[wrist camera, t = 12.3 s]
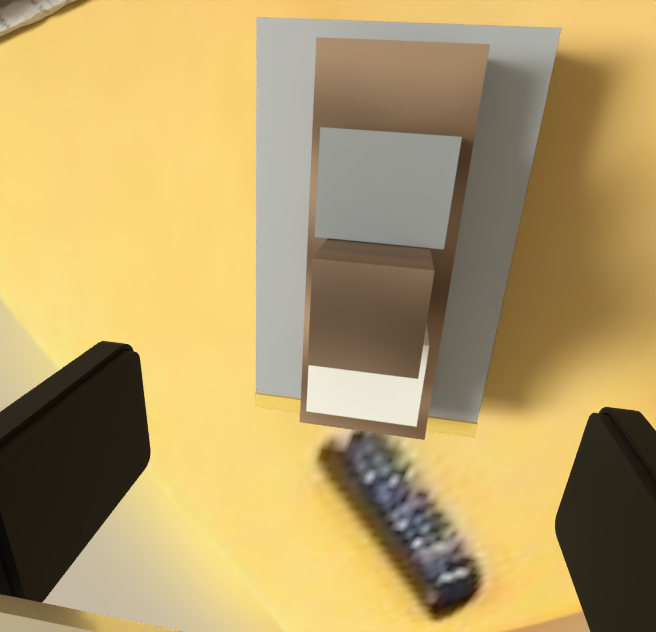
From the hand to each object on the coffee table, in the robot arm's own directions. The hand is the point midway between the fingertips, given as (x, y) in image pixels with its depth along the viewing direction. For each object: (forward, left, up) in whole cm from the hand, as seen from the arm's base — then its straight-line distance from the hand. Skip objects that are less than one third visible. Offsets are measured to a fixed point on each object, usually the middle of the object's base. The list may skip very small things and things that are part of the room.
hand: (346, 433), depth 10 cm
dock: (0, 0, -22) cm, 22 cm away
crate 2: (+4, 0, -14) cm, 14 cm away
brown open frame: (0, 0, -17) cm, 17 cm away
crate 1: (-4, 0, -14) cm, 14 cm away
